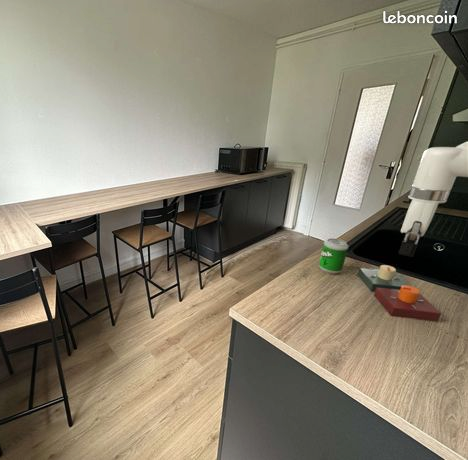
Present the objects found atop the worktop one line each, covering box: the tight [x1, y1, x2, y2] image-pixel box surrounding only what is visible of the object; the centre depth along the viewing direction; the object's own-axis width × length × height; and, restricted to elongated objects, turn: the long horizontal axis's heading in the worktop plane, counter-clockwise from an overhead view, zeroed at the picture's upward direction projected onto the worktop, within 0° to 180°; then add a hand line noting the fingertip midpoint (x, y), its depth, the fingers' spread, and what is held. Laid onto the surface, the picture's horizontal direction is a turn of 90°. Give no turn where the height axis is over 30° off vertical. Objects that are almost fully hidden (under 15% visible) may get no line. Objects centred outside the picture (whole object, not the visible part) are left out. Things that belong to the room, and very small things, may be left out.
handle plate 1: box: [357, 267, 412, 293], centre depth 86 cm, size 11×10×3 cm
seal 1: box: [377, 264, 397, 280], centre depth 85 cm, size 4×4×4 cm
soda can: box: [318, 237, 349, 275], centre depth 94 cm, size 8×8×12 cm
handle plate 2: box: [373, 288, 442, 323], centre depth 75 cm, size 11×10×3 cm
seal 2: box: [398, 285, 421, 303], centre depth 74 cm, size 4×4×4 cm
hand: (407, 249), depth 76 cm, fingers open, 9 cm apart
